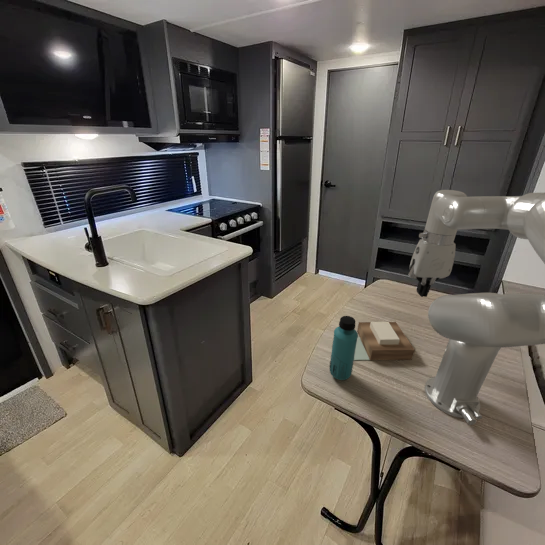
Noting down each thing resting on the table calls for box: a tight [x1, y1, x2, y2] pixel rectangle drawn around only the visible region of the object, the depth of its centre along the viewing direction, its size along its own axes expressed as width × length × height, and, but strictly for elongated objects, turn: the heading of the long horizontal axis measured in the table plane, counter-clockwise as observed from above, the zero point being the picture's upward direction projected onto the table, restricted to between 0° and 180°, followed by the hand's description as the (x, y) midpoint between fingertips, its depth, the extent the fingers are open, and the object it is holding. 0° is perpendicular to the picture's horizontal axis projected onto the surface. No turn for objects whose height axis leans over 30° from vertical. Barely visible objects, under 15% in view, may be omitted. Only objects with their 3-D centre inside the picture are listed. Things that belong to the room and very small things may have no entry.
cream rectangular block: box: [370, 321, 400, 345], centre depth 92 cm, size 9×6×2 cm, turn 1°
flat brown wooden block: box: [356, 321, 416, 361], centre depth 94 cm, size 14×13×4 cm
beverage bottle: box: [328, 315, 359, 381], centre depth 78 cm, size 6×7×20 cm
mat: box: [354, 335, 371, 361], centre depth 93 cm, size 11×7×1 cm, turn 1°
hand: (421, 294), depth 86 cm, fingers closed
